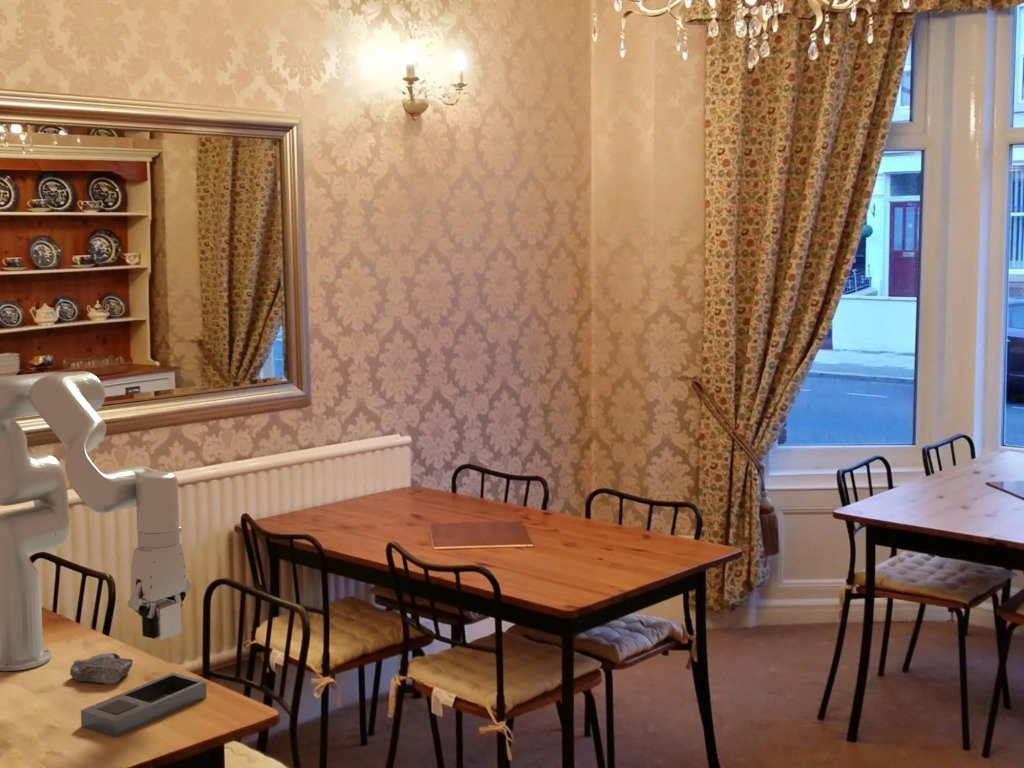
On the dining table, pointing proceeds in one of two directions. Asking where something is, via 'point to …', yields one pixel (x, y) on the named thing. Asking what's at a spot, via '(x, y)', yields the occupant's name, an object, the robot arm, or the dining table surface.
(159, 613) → the gray cube
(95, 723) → the grey tray with recess
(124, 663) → the rock
